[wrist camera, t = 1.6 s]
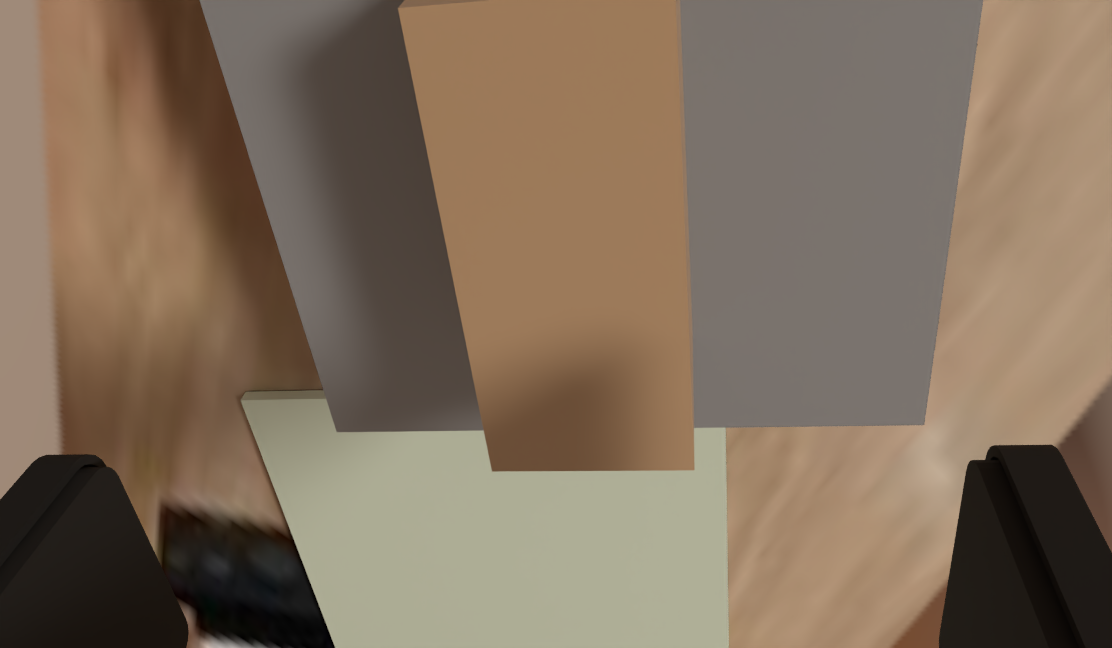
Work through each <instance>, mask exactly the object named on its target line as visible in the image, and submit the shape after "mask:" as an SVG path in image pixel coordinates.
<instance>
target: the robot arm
mask: <svg viewBox="0 0 1112 648" xmlns="http://www.w3.org/2000/svg"><path fill="white" fill-rule="evenodd" d="M187 642H188V624H187V621H186V618H185V616H184V614H183V612H182V610H181V607H180V605H179V603H178V601H177V599H176V597H175V595H174V593H173V590H172V588H171V586H170V584H169V582H168V580H167V578H166V576H165V574H164V571H163V569H162V567H161V565H160V563H159V561H158V559H157V557H156V555H155V552H154V550H153V548H152V546H151V544H150V542H149V540H148V538H147V535H146V533H145V531H144V529H143V527H142V525H141V523H140V521H139V519H138V516H137V514H136V512H135V510H134V508H133V506H132V504H131V502H130V500H129V497H128V495H127V493H126V491H125V489H124V487H123V485H122V483H121V480H120V478H119V476H118V475H117V473H116V472H115V470H113V469H112V468H110V467H107V466H106V465H105V463H104V462H103V461H102V459H100V458H99V457H97V456H96V455H88V454H86V455H45V456H42V457H39V458H38V459H37V460H35V461H34V462H33V463H32V464H31V465H30V466H29V467H28V469H27V470H26V471H25V472H24V473H23V474H22V475H21V476H20V478H19V479H18V480H17V481H16V482H15V483H14V485H13V486H12V487H11V488H10V489H9V490H8V491H7V493H6V494H5V495H4V496H3V497H2V499H0V648H186V646H187ZM939 648H1112V553H1111V551H1110V549H1109V547H1108V545H1107V543H1106V541H1105V539H1104V537H1103V535H1102V533H1101V531H1100V529H1099V527H1098V525H1097V523H1096V521H1095V519H1094V517H1093V516H1092V513H1091V512H1090V510H1089V508H1088V506H1087V504H1086V502H1085V500H1084V498H1083V496H1082V494H1081V492H1080V490H1079V488H1078V486H1077V484H1076V482H1075V480H1074V478H1073V476H1072V474H1071V472H1070V471H1069V469H1068V467H1067V465H1066V463H1065V461H1064V459H1063V457H1062V455H1061V453H1060V452H1059V450H1058V449H1057V448H1056V447H1054V446H1053V445H994V446H991V447H990V449H989V450H988V452H987V455H986V459H985V460H972V461H970V462H969V464H968V466H967V470H966V476H965V482H964V488H963V494H962V500H961V506H960V513H959V519H958V525H957V531H956V537H955V543H954V549H953V555H952V561H951V568H950V574H949V580H948V586H947V592H946V598H945V605H944V610H943V616H942V623H941V629H940V636H939Z"/></svg>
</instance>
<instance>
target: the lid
mask: <svg viewBox="0 0 1112 648" xmlns="http://www.w3.org/2000/svg"><path fill="white" fill-rule="evenodd" d="M200 3H201V7H202V10H203V13H204V16H205V19H206V22H207V26H208V29H209V32H210V35H211V38H212V41H213V44H214V48H215V51H216V54H217V57H218V60H219V63H220V66H221V70H222V73H223V76H224V79H225V82H226V85H227V88H228V92H229V95H230V98H231V101H232V104H233V107H234V111H235V114H236V117H237V120H238V123H239V126H240V129H241V133H242V136H243V139H244V142H245V145H246V148H247V151H248V155H249V158H250V161H251V164H252V167H253V170H254V173H255V177H256V180H257V183H258V186H259V189H260V192H261V195H262V199H263V202H264V205H265V208H266V211H267V214H268V218H269V221H270V224H271V227H272V230H273V233H274V236H275V240H276V243H277V246H278V249H279V252H280V255H281V258H282V262H283V265H284V268H285V271H286V274H287V277H288V280H289V284H290V287H291V290H292V293H293V296H294V299H295V303H296V306H297V309H298V312H299V315H300V318H301V321H302V325H303V328H304V331H305V334H306V337H307V340H308V343H309V347H310V350H311V353H312V356H313V359H314V362H315V365H316V369H317V372H318V375H319V378H320V381H321V384H322V387H323V391H324V394H325V397H326V400H327V403H328V406H329V410H330V413H331V416H332V419H333V422H334V425H335V428H336V432H408V431H484V435H485V440H486V445H487V450H488V455H489V459H490V464H491V469H492V472H499V471H678V470H695V465H694V428H727V427H807V426H887V425H924V422H925V415H926V408H927V401H928V394H929V386H930V379H931V372H932V365H933V358H934V350H935V343H936V336H937V329H938V322H939V314H940V307H941V300H942V293H943V286H944V278H945V271H946V264H947V257H948V250H949V242H950V235H951V228H952V221H953V214H954V206H955V199H956V192H957V185H958V178H959V170H960V163H961V156H962V149H963V142H964V134H965V127H966V120H967V113H968V106H969V98H970V91H971V84H972V77H973V70H974V62H975V55H976V48H977V41H978V34H979V26H980V19H981V12H982V5H983V0H200Z"/></svg>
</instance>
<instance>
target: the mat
mask: <svg viewBox="0 0 1112 648" xmlns="http://www.w3.org/2000/svg"><path fill="white" fill-rule="evenodd" d="M241 403H242V406H243V408H244V411H245V413H246V416H247V419H248V421H249V424H250V426H251V429H252V432H253V434H254V437H255V440H256V442H257V445H258V447H259V450H260V453H261V455H262V458H263V460H264V463H265V466H266V468H267V471H268V473H269V476H270V479H271V481H272V484H273V487H274V489H275V492H276V494H277V497H278V500H279V502H280V505H281V507H282V510H283V513H284V515H285V518H286V520H287V523H288V526H289V528H290V531H291V534H292V536H293V539H294V541H295V544H296V547H297V549H298V552H299V554H300V557H301V560H302V562H303V565H304V567H305V570H306V573H307V575H308V578H309V580H310V583H311V586H312V588H313V591H314V594H315V596H316V599H317V601H318V604H319V607H320V609H321V612H322V614H323V617H324V620H325V622H326V625H327V627H328V630H329V633H330V635H331V638H332V641H333V643H334V646H335V648H729V624H728V557H727V489H726V428H694V465H695V470H678V471H499V472H492V469H491V464H490V459H489V455H488V450H487V445H486V440H485V435H484V431H408V432H336V428H335V425H334V422H333V419H332V416H331V413H330V410H329V406H328V403H327V400H326V397H325V394H324V391H323V390H305V391H255V392H245V394H244V395H243V397H242V398H241Z"/></svg>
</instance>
